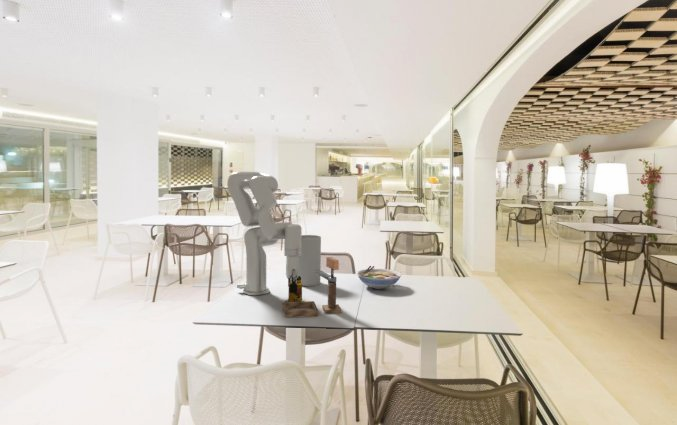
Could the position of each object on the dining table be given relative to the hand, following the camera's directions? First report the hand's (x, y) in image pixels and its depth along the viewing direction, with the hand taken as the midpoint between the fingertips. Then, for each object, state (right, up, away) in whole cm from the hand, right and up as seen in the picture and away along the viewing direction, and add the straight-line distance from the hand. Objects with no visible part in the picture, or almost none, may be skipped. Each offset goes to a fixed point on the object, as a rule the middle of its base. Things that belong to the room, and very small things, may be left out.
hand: (292, 289), depth 194 cm
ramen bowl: (+41, -4, +29) cm, 50 cm away
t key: (+15, +6, -5) cm, 17 cm away
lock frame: (+10, -7, -12) cm, 17 cm away
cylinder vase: (+5, -3, +34) cm, 34 cm away
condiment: (0, -6, 0) cm, 6 cm away
